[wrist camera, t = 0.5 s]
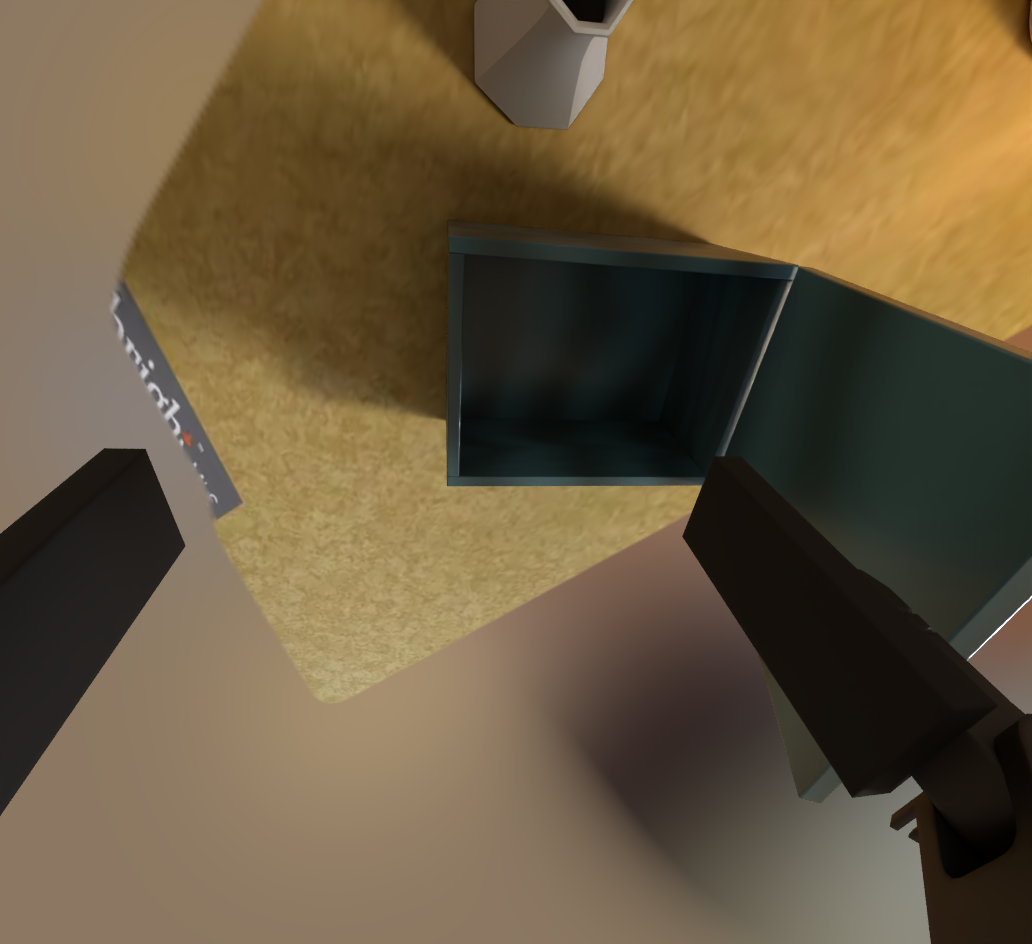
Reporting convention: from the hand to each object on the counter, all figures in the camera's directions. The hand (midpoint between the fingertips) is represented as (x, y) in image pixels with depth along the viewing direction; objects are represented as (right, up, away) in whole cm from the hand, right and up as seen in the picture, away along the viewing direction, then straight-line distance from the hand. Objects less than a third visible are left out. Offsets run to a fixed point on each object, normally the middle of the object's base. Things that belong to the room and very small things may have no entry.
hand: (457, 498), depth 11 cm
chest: (+5, +10, +21) cm, 24 cm away
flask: (+3, +23, +12) cm, 26 cm away
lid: (+13, +1, +7) cm, 15 cm away
